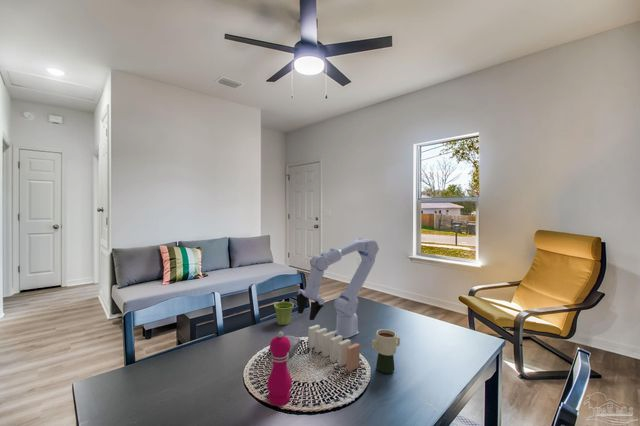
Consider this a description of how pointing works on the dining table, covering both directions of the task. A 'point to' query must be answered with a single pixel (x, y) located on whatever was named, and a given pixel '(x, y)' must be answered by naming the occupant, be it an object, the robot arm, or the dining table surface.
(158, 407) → the dining table surface
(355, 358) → the domino
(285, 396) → the pepper mill
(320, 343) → the domino
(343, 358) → the domino
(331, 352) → the domino
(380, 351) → the character mug
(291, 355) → the stone block
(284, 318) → the plant pot
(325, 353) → the domino
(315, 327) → the domino
